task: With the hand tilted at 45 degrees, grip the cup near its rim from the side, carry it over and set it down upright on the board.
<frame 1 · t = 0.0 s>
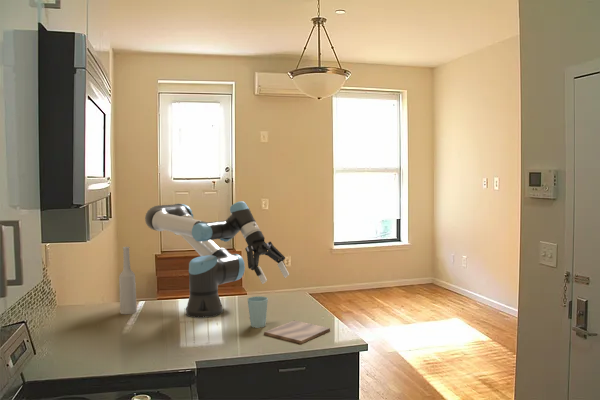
hand: (276, 279, 199), 15 cm above the worktop, tool tilted 35°, fingers open, 13 cm apart
bottle: (128, 312, 211), on the worktop
board: (297, 332, 179), on the worktop
cup: (258, 326, 188), on the worktop
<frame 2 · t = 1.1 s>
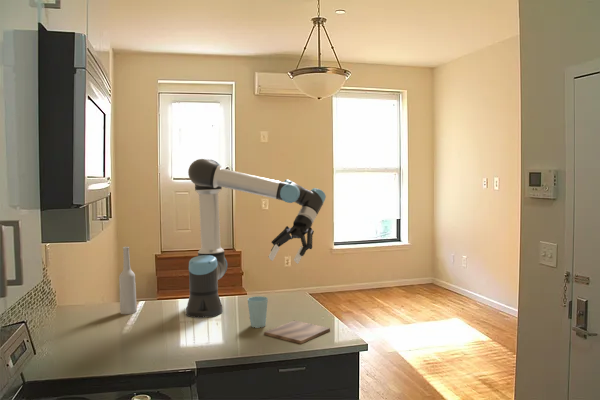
hand: (282, 260, 199), 23 cm above the worktop, tool tilted 45°, fingers open, 13 cm apart
nothing on the worktop moved.
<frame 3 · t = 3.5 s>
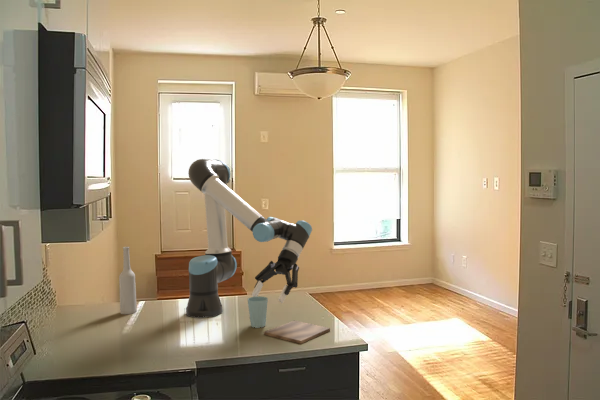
hand: (266, 298, 189), 10 cm above the worktop, tool tilted 45°, fingers open, 13 cm apart
nothing on the worktop moved.
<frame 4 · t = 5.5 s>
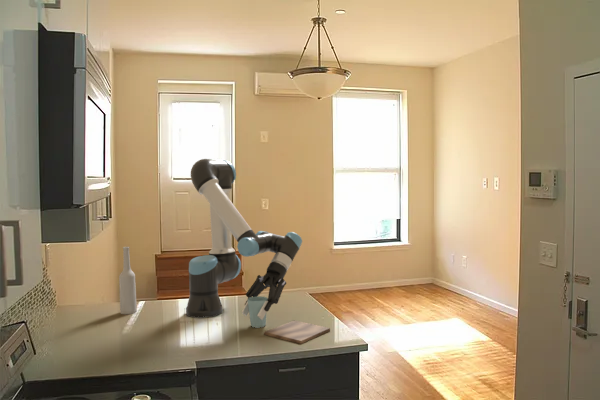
hand: (251, 315, 185), 5 cm above the worktop, tool tilted 45°, fingers closed on cup, 8 cm apart
cup: (258, 326, 188), on the worktop, touching gripper
everything else where it was.
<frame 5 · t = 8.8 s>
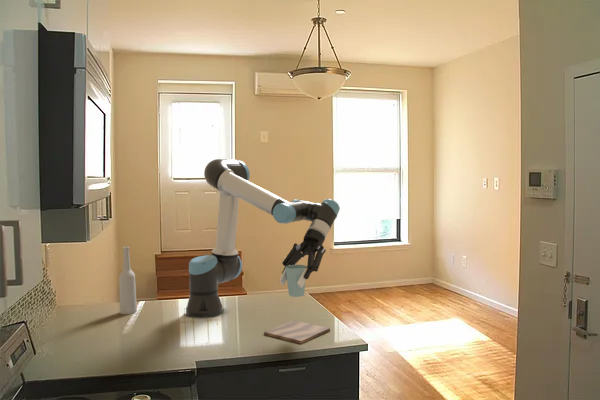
hand: (290, 284, 175), 18 cm above the worktop, tool tilted 45°, fingers closed on cup, 8 cm apart
cup: (296, 295, 178), point 14 cm above the worktop, touching gripper
everything else where it was.
when the fingers open (6 cm above the worktop, at t = 12.3 s): cup stays where it is, resting on board.
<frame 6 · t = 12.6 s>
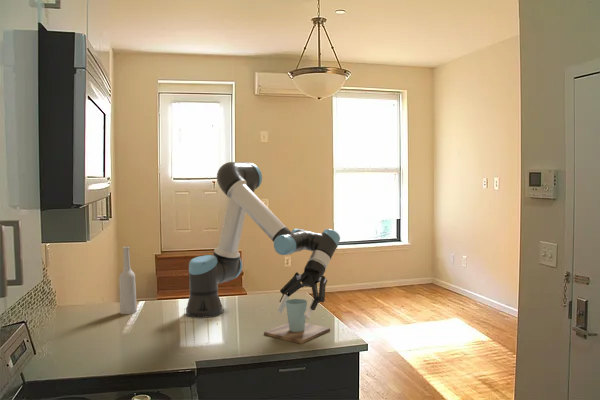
hand: (292, 314, 176), 7 cm above the worktop, tool tilted 45°, fingers open, 12 cm apart
cup: (297, 330, 179), point 1 cm above the worktop, touching board
everything else where it was.
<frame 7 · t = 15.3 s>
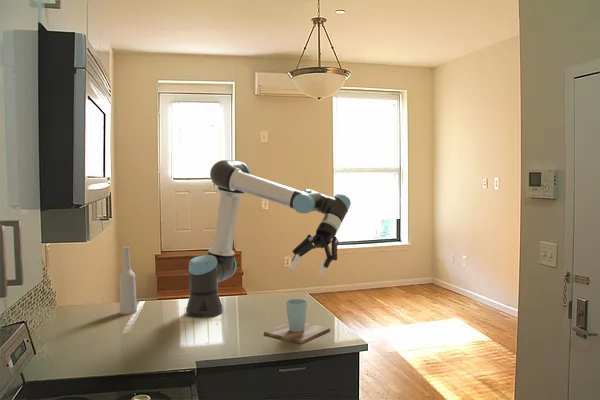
hand: (305, 271, 184), 21 cm above the worktop, tool tilted 45°, fingers open, 13 cm apart
nothing on the worktop moved.
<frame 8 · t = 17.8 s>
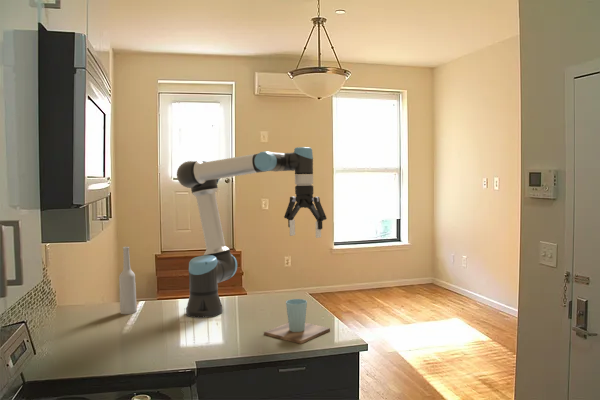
hand: (305, 236, 203), 32 cm above the worktop, tool pointing down, fingers open, 13 cm apart
nothing on the worktop moved.
at the end: cup inside the target area on the board (0.2 cm from its centre), point 0.8 cm above the board's base; cup tilted 0°; the gripper is holding nothing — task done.
